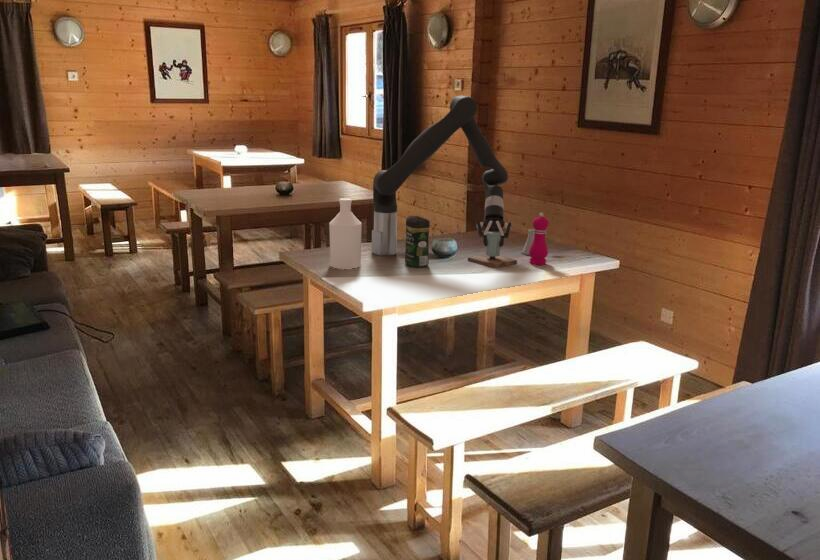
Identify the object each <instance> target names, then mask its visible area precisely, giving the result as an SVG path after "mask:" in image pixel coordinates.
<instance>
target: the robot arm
mask: <svg viewBox="0 0 820 560" xmlns="http://www.w3.org/2000/svg"><path fill="white" fill-rule="evenodd" d="M477 112H478V103H477V100H475V99H474V98H473V97H471V96H468V95H457V96H455V97H453V98H452V99H451V101H450V103H449V111H448V113H447V114H446V115H444V117H442V118H441V119H440V120H439V121H437V122H435V123H434V124H432V125H430V126H429V127H427V128H426V129H424V130H423V131H421V133H419V135H418V136H416V138H414V139H413V141H411V143H410V144H409V145H408V146H407V148H406V149H405V151H404V153H403V154H402V155H401V157H400V158H399V159H398V161H396V162H395V163H394V164H393V165H392V166H391V167H390V168H388V169H382V170H379V171H377V173H376V174H375V175H374V177H373V182H372V183H373V184H372V193H373V194H372V196H373V197H372V200H373V202H372V203H373V229H372V230H371V254H373V253H374V254H373V255H377V256H381V257H382V256H394V255H396V254H397V240H398V239H397V238H398V237H397V236H398V235H397V232H398V203H397V191H398V190H399V189H400V188H401V186H402V185H404V183H405V182H406V180H407V179H408V178H409V177H410V176H411V175H412V174H413V173H414V172H415V171H416V170H417V169H419V168H420V167H421V166H422V165H423V164H425V162H427V161H428V160H429V159H430V158H432V156H433V155H434V154H435V153H436V152H437V151H438V150H439V149H440V148H441V147H442V146H443V145H444V144H445V143H446V142H447V141H448V140H449V139H450V138H451V137H452V136H453V135H454V133H456V132H457V131H458V130H459V129H461V131H462V132H463V133H464V135H465V137H466V139H467V141H468V143H469V145H470V148H471V150H472V151H473V154H474V157H475V158H476V161H477V162H478V165H479V166H480V167H482V168H490V169H488V170H485V171H484V172H483V173H482V176H481V181H482V183H483V187H484V191H485V202H484V220H483V221H476V229H477V234H478V237H479V238H483V239H482V241H483V245H484V247H486V246H487V231H499V232H501V239H500V248H502V247H503V246H504V243H505V239H508V238H509V235H510V232H511V229H512V222H505V220H504V219H505V218H504V217H505V216H504V213H505V212H504V211H505V210H504V209H505V208H504V207H505V206H504V205H505V204H504V189H503V188H502V187H501V186H500V185H503V184H506V182H507V181H508V179H509V174H508V171H507V170H506V168H505V167H504V166H503V164H502V163H501V162H500V161H499V159H498V158H497V157H496V156H495V153H494V152H493V149H492V147H491V144H490V143H489V140H487V138H486V136H485V135H484V134H483V132H482V131H481V129H480V128H479V126H478V124H477V121H476V120H475V118H474V117H475V115H476V114H477ZM483 227H484V228H485V230H484V232H483V230H482V228H483ZM504 227H505V229H506V231H505V233H504V231H503V228H504Z"/></svg>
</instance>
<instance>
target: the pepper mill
mask: <svg viewBox="0 0 820 560" xmlns="http://www.w3.org/2000/svg"><path fill="white" fill-rule="evenodd" d="M532 225H533V228H534V229H533V230H534V240H533V243H532V245H531V247H530V250H529V254H530V255H529V256H530V258H529V263H531V264H530V265H533V264H535V266H544V264H545V265H546V263H547V259H546V258H547V257H548V255H549V250H548V247H547V243H546V234H547V233H548V232H547V231H548V230H547V228H549V225H550V224H549V219H547V217H545V216H544V212H540V213H539V214H538V216H537V217H535V218H534V219H533V221H532Z"/></svg>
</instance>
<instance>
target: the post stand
mask: <svg viewBox="0 0 820 560" xmlns="http://www.w3.org/2000/svg"><path fill="white" fill-rule="evenodd" d="M468 260H469V262H472V263H475V262H476V264H479V263H480V264H479V265H483V266H486V265H487V267H490V266H491V267H490V268H493V267H495V268H499V266H500V267H503V266H504V265H505V266H508V265H509V264H510V265H514V263H515V264H517V263H518V259H514V258H510V257H506V256H503V255H499V256H487V255H486V253H485V254H480V255H475V256H470V257H467V261H468Z"/></svg>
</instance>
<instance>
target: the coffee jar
mask: <svg viewBox="0 0 820 560" xmlns="http://www.w3.org/2000/svg"><path fill="white" fill-rule="evenodd" d="M430 224H431V223H430V220H429V219H428V218H424V217H421V216H420V215H409V216H408V217H407V218H406V221H405V254H404V262H405V264H407V266H409V267H413V268H424V267H427V266H429V263H430V262H429V258H430V257H429V251H430V250H429V246H430V245H429V242H430V241H429V239H430V238H429V237H430V236H429V234H430V229H431V228H430V227H431V225H430Z"/></svg>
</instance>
